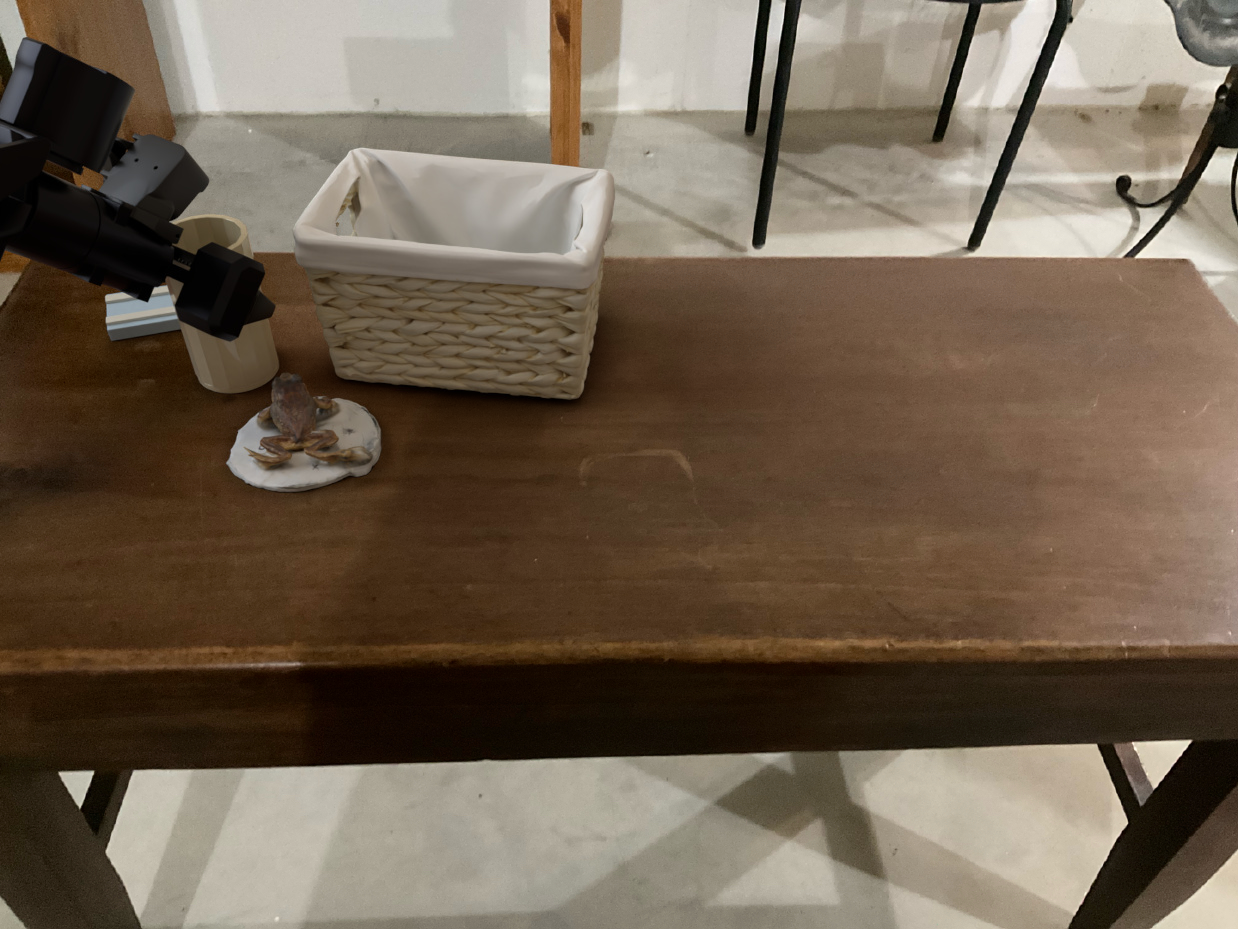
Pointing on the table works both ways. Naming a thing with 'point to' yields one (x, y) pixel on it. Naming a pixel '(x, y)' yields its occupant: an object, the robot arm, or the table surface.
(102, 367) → the table surface
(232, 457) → the frog figurine
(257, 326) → the cup
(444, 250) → the basket
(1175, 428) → the table surface
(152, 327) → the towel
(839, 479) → the table surface
